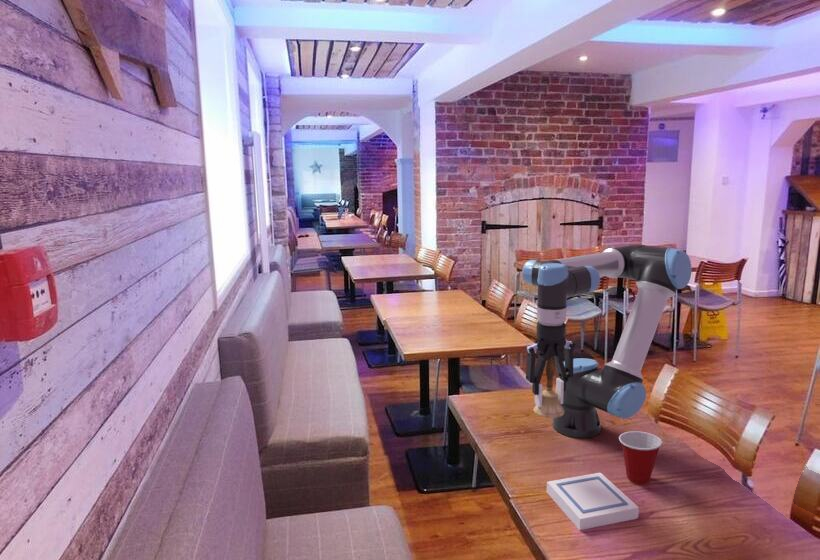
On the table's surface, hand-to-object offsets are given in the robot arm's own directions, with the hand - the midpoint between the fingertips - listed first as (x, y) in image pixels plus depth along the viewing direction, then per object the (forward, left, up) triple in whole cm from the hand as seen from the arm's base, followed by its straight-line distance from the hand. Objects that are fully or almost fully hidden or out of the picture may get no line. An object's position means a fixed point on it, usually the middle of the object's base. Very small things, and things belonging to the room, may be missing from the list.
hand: (548, 403), depth 146 cm
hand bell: (0, 0, -3) cm, 3 cm away
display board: (-4, +16, -21) cm, 27 cm away
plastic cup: (-23, +9, -21) cm, 33 cm away
